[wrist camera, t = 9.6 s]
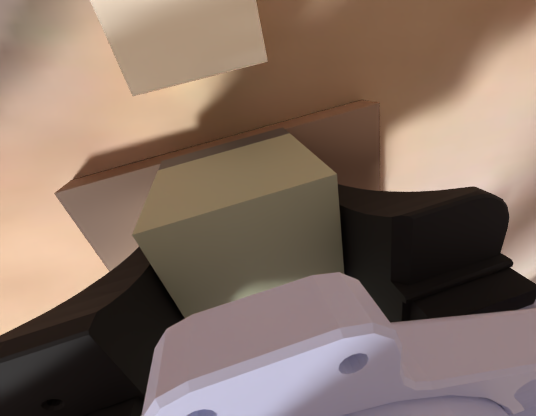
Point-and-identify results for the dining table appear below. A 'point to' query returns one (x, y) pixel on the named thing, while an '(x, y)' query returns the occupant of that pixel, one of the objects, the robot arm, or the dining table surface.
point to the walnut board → (143, 172)
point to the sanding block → (240, 220)
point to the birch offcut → (180, 39)
